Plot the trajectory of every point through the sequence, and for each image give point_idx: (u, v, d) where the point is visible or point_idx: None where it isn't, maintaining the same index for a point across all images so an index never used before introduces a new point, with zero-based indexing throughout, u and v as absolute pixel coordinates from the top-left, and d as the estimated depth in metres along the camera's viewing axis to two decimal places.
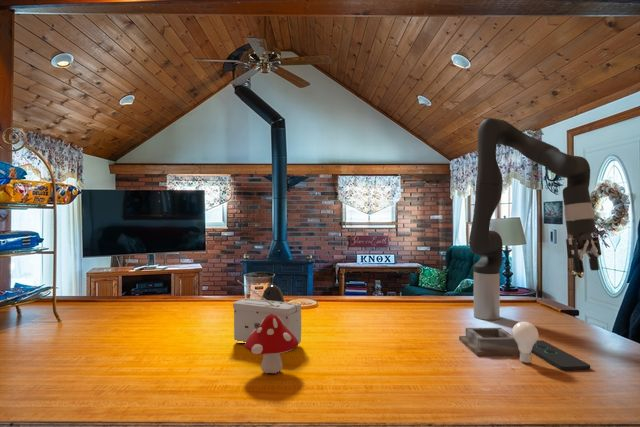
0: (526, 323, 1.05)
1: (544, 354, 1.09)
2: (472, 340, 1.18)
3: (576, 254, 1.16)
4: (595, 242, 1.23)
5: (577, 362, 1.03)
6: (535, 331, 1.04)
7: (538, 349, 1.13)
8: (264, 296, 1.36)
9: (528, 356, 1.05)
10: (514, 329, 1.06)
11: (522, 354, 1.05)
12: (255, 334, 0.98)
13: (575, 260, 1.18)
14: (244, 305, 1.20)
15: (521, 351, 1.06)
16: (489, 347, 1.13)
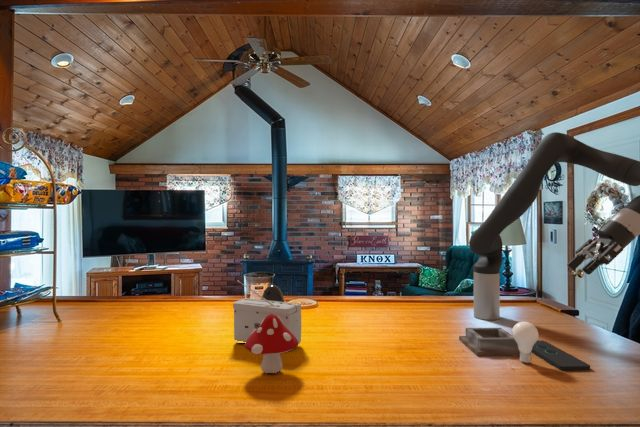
0: (526, 323, 1.05)
1: (544, 354, 1.09)
2: (472, 340, 1.18)
3: (609, 261, 1.02)
4: None
5: (577, 362, 1.03)
6: (535, 331, 1.04)
7: (538, 349, 1.13)
8: (264, 296, 1.36)
9: (528, 356, 1.05)
10: (514, 329, 1.06)
11: (522, 354, 1.05)
12: (255, 334, 0.98)
13: (597, 262, 1.04)
14: (244, 305, 1.20)
15: (521, 351, 1.06)
16: (489, 347, 1.13)
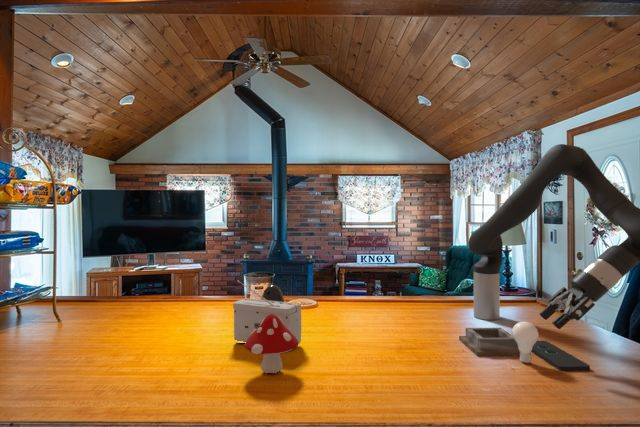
0: (526, 323, 1.05)
1: (544, 354, 1.09)
2: (472, 340, 1.18)
3: None
4: None
5: (577, 362, 1.03)
6: (535, 331, 1.04)
7: (539, 349, 1.13)
8: (264, 296, 1.36)
9: (528, 356, 1.05)
10: (514, 329, 1.06)
11: (522, 354, 1.05)
12: (255, 334, 0.98)
13: (568, 317, 0.99)
14: (244, 305, 1.20)
15: (521, 351, 1.06)
16: (489, 347, 1.13)
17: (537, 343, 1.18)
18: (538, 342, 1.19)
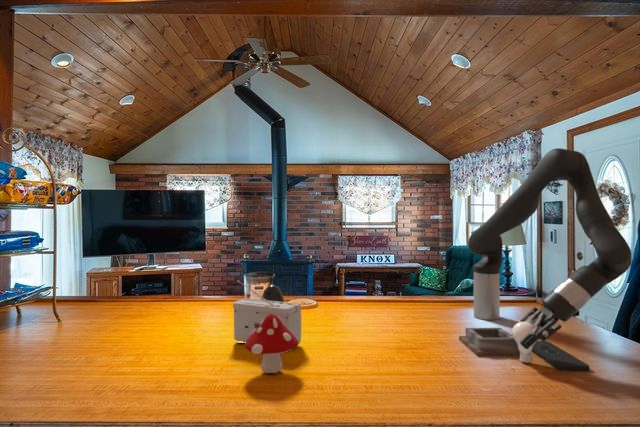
0: (526, 323, 1.05)
1: (544, 354, 1.09)
2: (472, 340, 1.18)
3: (546, 338, 1.00)
4: None
5: (577, 362, 1.03)
6: None
7: (540, 349, 1.13)
8: (264, 296, 1.36)
9: (528, 356, 1.05)
10: (514, 329, 1.06)
11: (522, 354, 1.05)
12: (255, 334, 0.98)
13: (534, 337, 1.01)
14: (244, 305, 1.20)
15: (521, 351, 1.06)
16: (489, 347, 1.13)
17: (538, 343, 1.18)
18: (539, 342, 1.19)
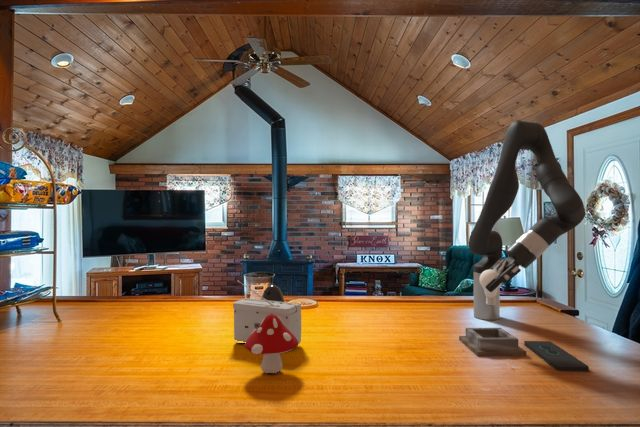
0: (491, 270, 1.17)
1: (544, 354, 1.09)
2: (472, 340, 1.18)
3: (507, 281, 1.12)
4: None
5: (576, 363, 1.03)
6: None
7: (541, 349, 1.13)
8: (264, 296, 1.36)
9: (493, 299, 1.17)
10: (481, 276, 1.18)
11: (488, 298, 1.17)
12: (255, 334, 0.98)
13: (498, 281, 1.13)
14: (244, 305, 1.20)
15: (487, 295, 1.18)
16: (489, 347, 1.13)
17: (540, 343, 1.18)
18: (542, 342, 1.19)
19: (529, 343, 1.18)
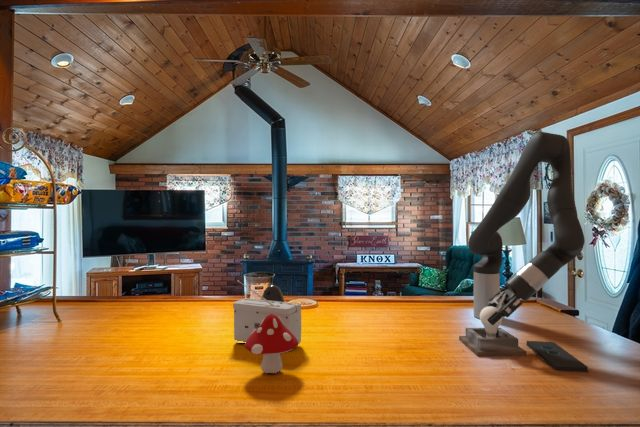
0: (491, 307, 1.18)
1: (545, 354, 1.09)
2: (472, 340, 1.18)
3: (509, 315, 1.11)
4: None
5: (576, 363, 1.03)
6: None
7: (542, 349, 1.13)
8: (264, 296, 1.36)
9: (493, 337, 1.17)
10: (481, 313, 1.18)
11: (488, 335, 1.18)
12: (255, 334, 0.98)
13: (500, 314, 1.13)
14: (244, 305, 1.20)
15: (487, 332, 1.18)
16: (489, 347, 1.13)
17: (543, 344, 1.18)
18: (544, 343, 1.18)
19: (531, 343, 1.18)
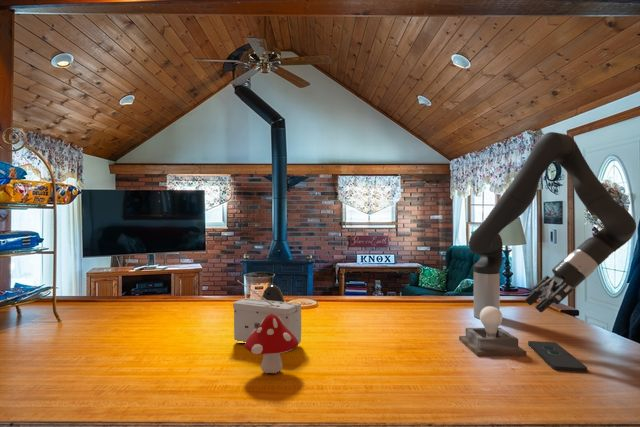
0: (492, 307, 1.18)
1: (545, 354, 1.09)
2: (472, 340, 1.18)
3: (559, 301, 1.09)
4: None
5: (575, 363, 1.02)
6: (499, 314, 1.16)
7: (543, 349, 1.13)
8: (264, 296, 1.36)
9: (493, 337, 1.17)
10: (481, 313, 1.18)
11: (488, 335, 1.18)
12: (255, 334, 0.98)
13: (549, 301, 1.10)
14: (244, 305, 1.20)
15: (487, 332, 1.18)
16: (489, 347, 1.13)
17: (544, 344, 1.17)
18: (546, 343, 1.18)
19: (533, 343, 1.18)
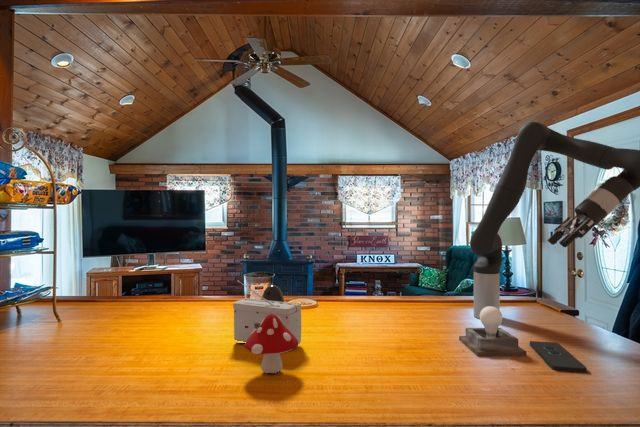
0: (491, 307, 1.18)
1: (545, 354, 1.09)
2: (472, 340, 1.18)
3: (583, 235, 1.14)
4: None
5: (575, 364, 1.02)
6: (499, 314, 1.16)
7: (543, 349, 1.13)
8: (264, 296, 1.36)
9: (493, 337, 1.17)
10: (481, 313, 1.18)
11: (488, 335, 1.18)
12: (255, 334, 0.98)
13: (572, 236, 1.16)
14: (244, 305, 1.20)
15: (487, 332, 1.18)
16: (489, 347, 1.13)
17: (546, 344, 1.17)
18: (547, 343, 1.18)
19: (534, 343, 1.18)
